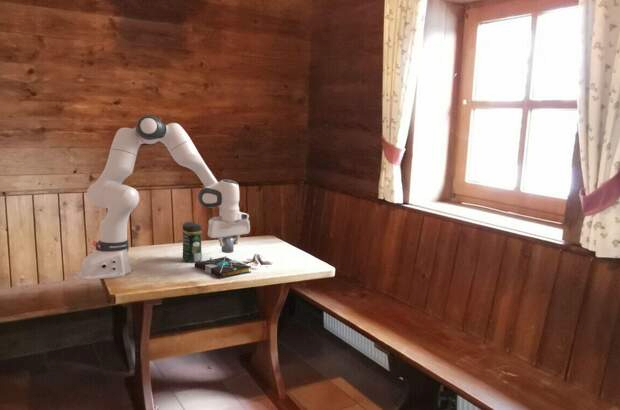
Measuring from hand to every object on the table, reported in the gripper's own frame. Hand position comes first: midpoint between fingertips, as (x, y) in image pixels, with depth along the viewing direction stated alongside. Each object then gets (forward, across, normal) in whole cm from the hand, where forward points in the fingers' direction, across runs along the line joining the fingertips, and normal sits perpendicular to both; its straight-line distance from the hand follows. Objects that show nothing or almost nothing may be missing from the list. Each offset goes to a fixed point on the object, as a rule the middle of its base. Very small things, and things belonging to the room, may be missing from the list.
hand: (228, 245), depth 237 cm
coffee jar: (+12, -7, +23) cm, 27 cm away
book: (+12, -3, 0) cm, 12 cm away
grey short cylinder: (+3, 0, +1) cm, 3 cm away
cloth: (+12, +18, +1) cm, 22 cm away
